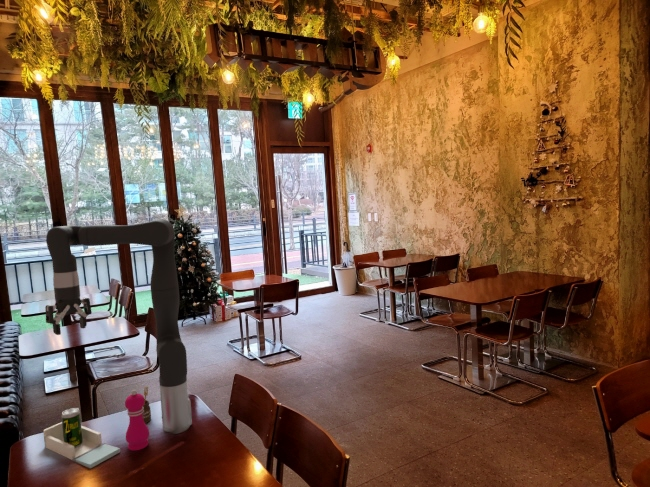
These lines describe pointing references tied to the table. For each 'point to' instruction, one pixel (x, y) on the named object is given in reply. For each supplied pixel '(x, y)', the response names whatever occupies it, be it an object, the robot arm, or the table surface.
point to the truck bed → (57, 444)
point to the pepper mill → (136, 422)
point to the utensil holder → (146, 408)
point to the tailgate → (96, 455)
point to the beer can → (72, 427)
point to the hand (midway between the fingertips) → (70, 331)
